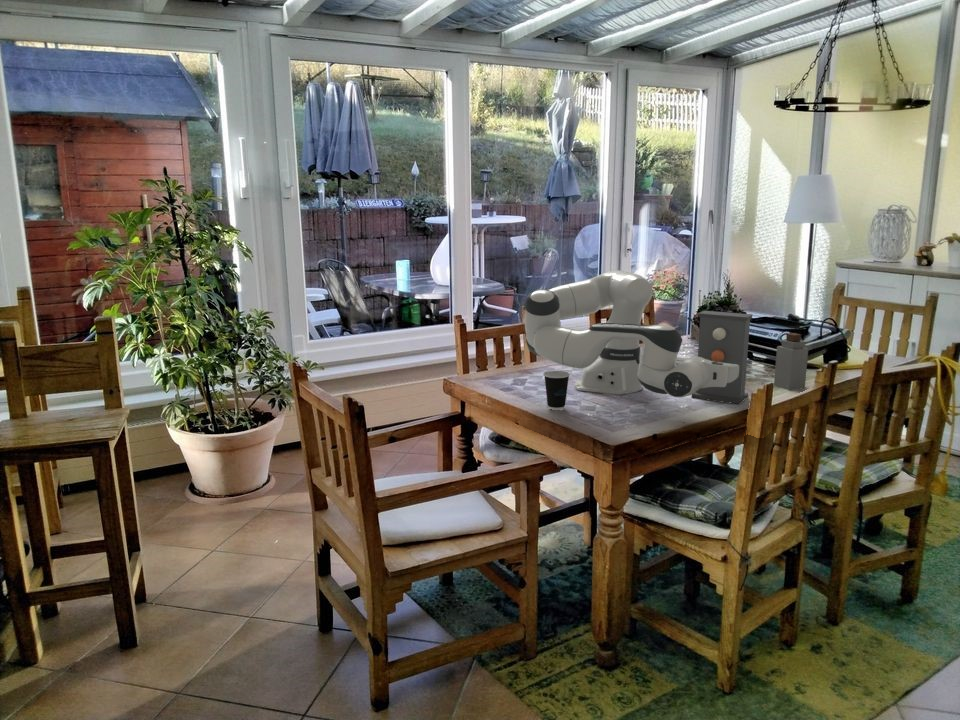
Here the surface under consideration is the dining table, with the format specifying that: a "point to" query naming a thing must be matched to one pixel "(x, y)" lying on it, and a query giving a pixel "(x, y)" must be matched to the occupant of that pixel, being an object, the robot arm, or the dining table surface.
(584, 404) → the dining table surface
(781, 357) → the perfume bottle
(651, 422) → the dining table surface
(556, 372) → the dixie cup
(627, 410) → the dining table surface
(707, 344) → the button column
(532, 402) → the dining table surface
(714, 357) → the button middle
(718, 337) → the button top
